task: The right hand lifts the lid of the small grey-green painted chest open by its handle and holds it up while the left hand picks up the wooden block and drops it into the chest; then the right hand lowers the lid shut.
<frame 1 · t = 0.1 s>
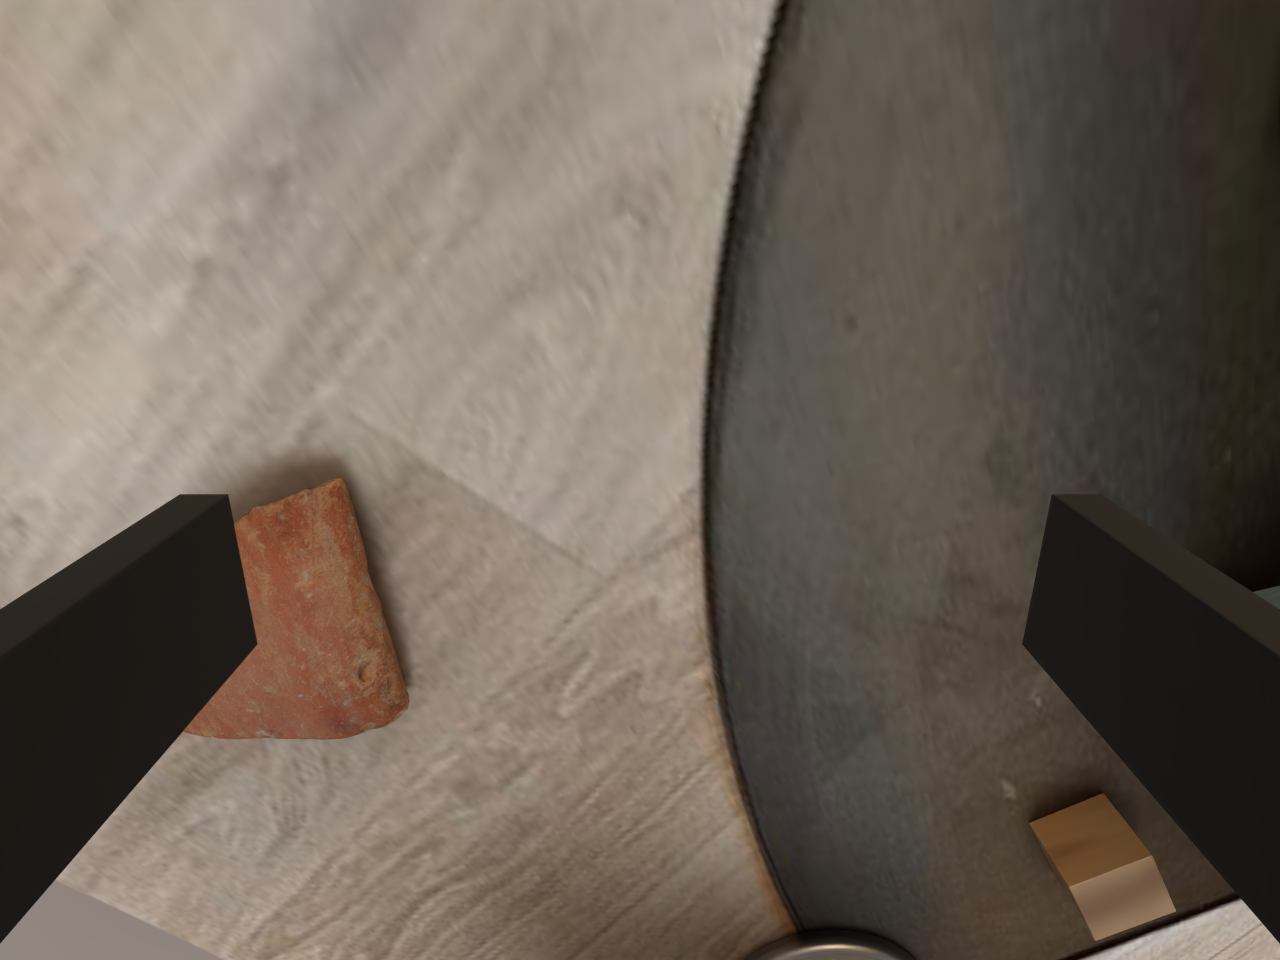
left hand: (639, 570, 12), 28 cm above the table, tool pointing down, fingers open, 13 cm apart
ceramic shard: (265, 602, 44), on the table
block: (1077, 834, 50), on the table
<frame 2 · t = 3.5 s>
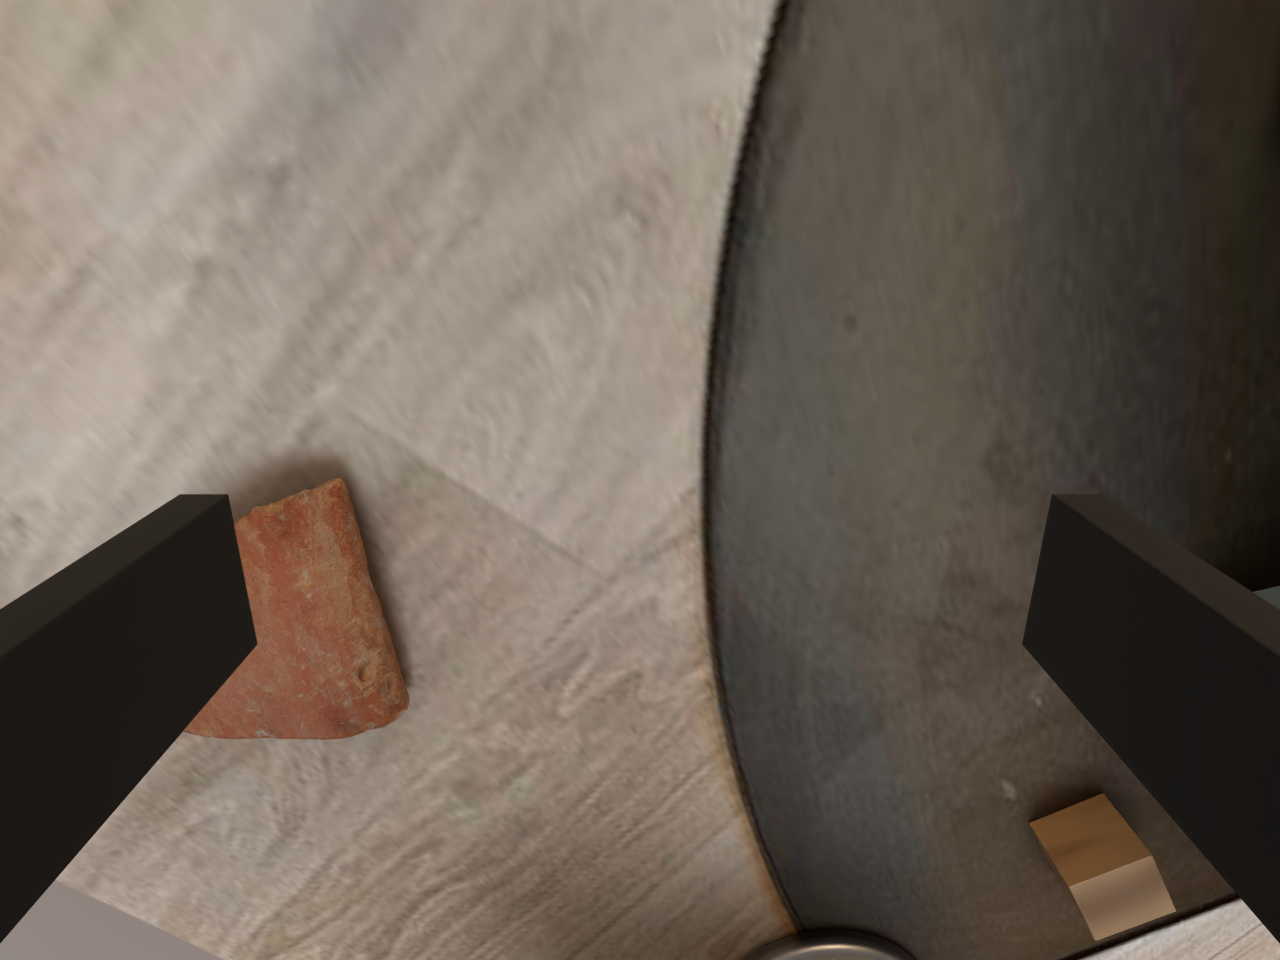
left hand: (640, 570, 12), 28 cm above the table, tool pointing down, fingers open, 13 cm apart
ceramic shard: (265, 602, 44), on the table
block: (1077, 834, 50), on the table
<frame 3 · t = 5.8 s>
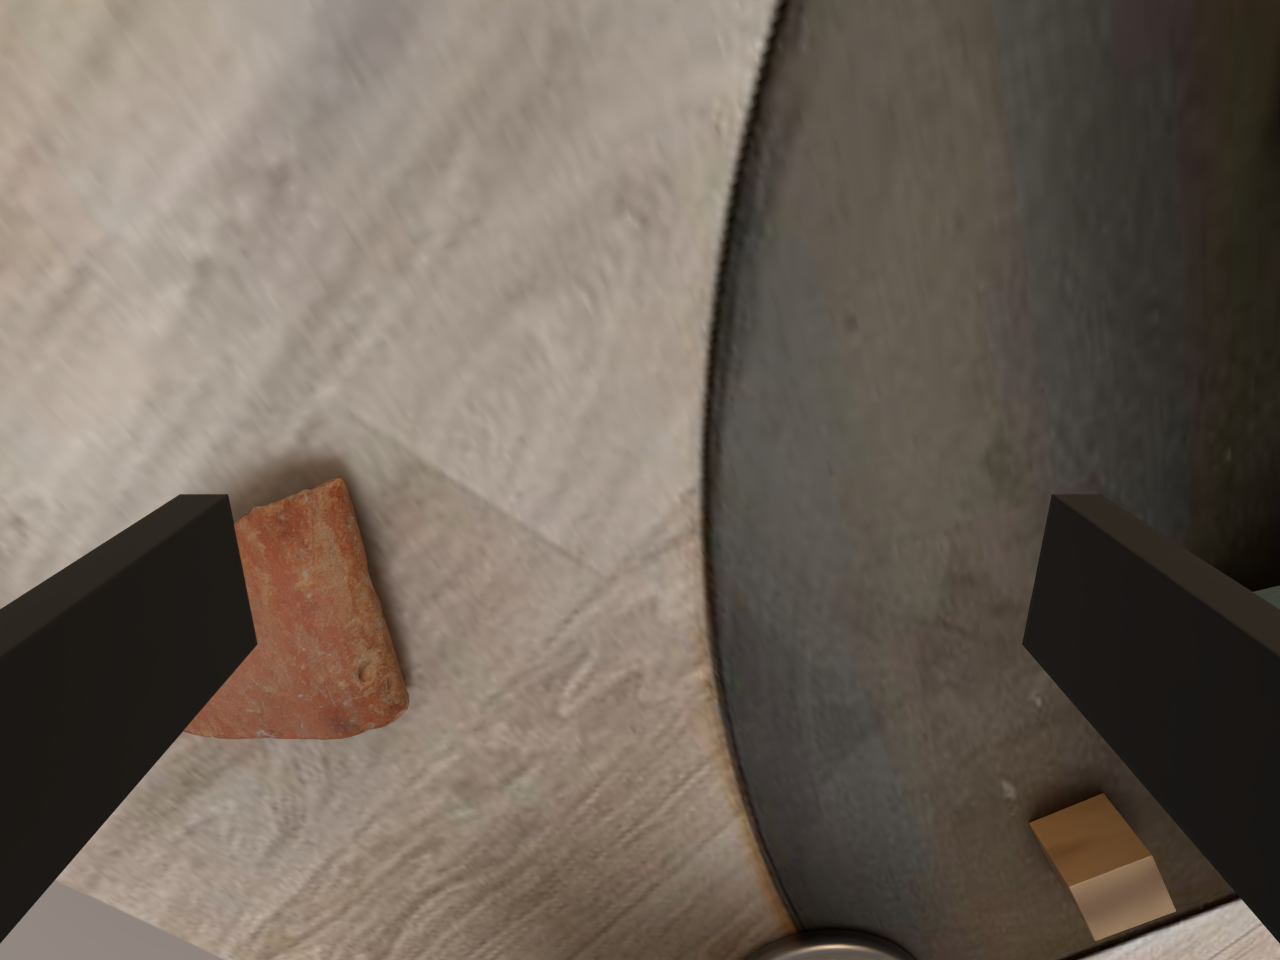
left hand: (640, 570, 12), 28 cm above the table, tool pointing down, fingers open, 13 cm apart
ceramic shard: (265, 602, 44), on the table
block: (1077, 834, 50), on the table
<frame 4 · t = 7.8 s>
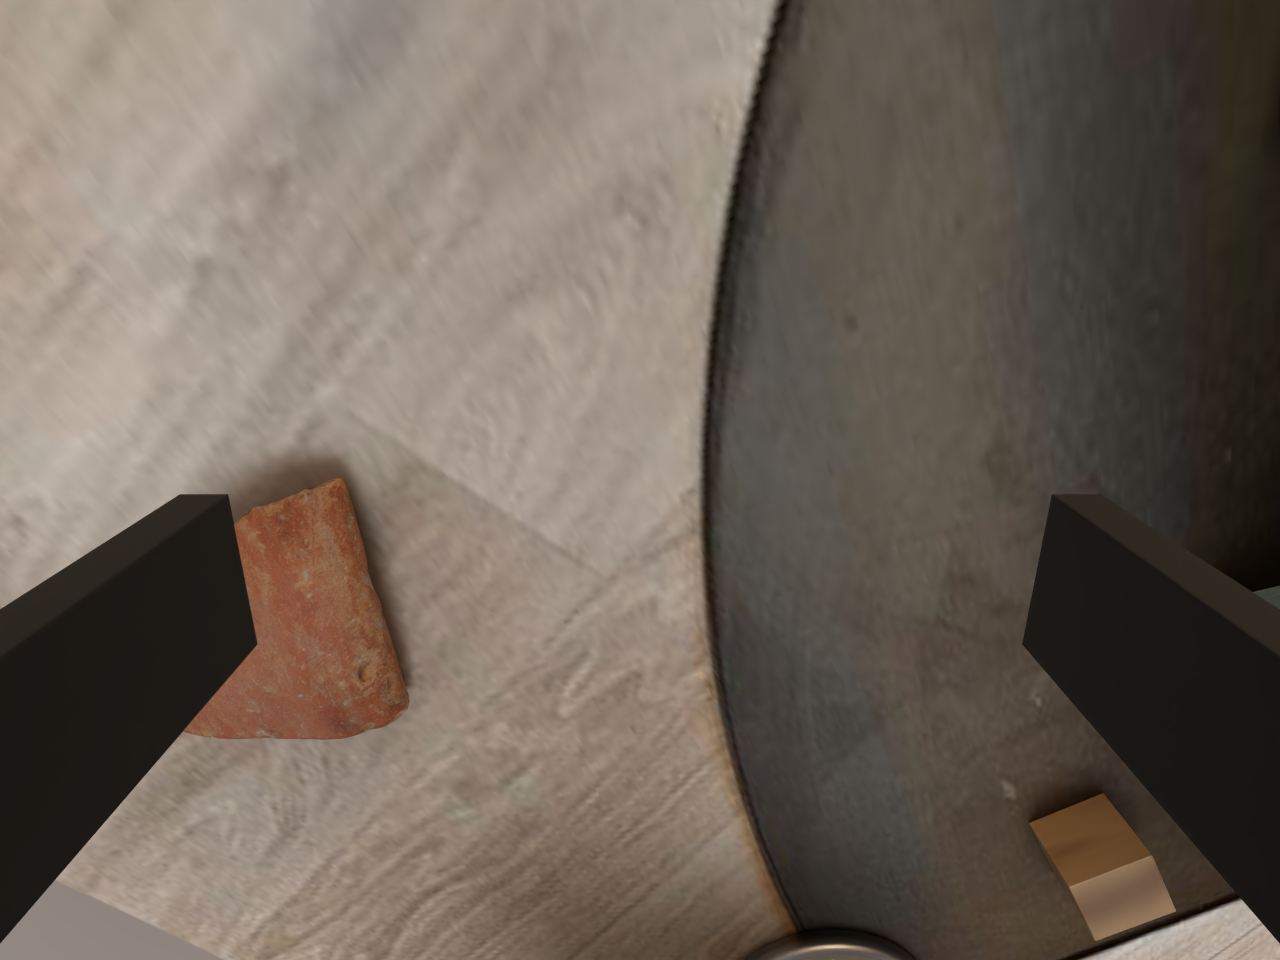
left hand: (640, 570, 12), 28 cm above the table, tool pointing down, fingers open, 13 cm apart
ceramic shard: (265, 602, 44), on the table
block: (1077, 834, 50), on the table
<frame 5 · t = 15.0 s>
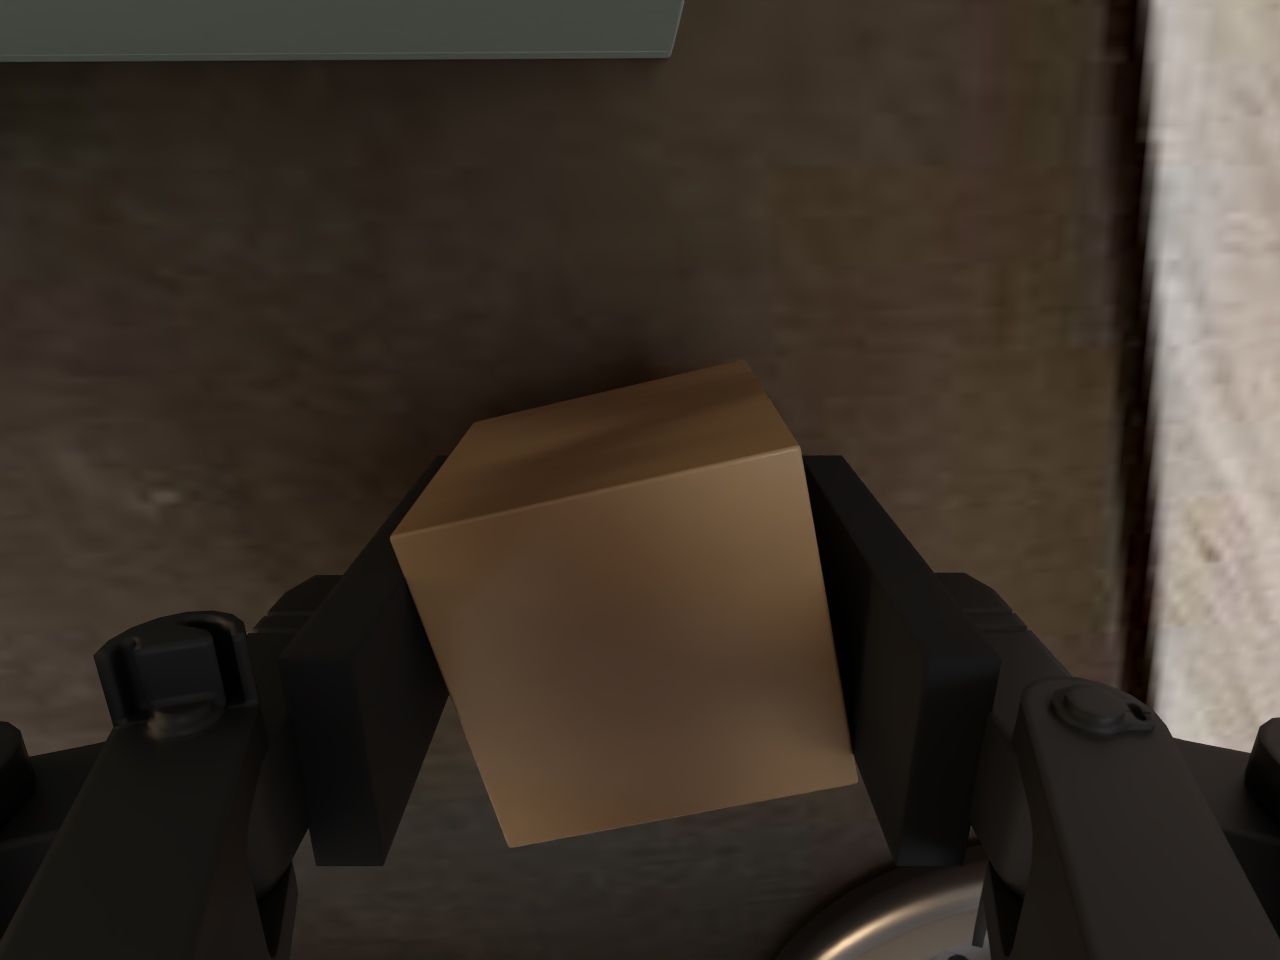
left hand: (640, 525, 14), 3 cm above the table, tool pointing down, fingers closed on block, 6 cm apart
block: (639, 516, 14), point 3 cm above the table, touching left hand
when the left hand's fingers open (17 cm above the table, at t = 17.9 s): block drops 15 cm, resting on chest.
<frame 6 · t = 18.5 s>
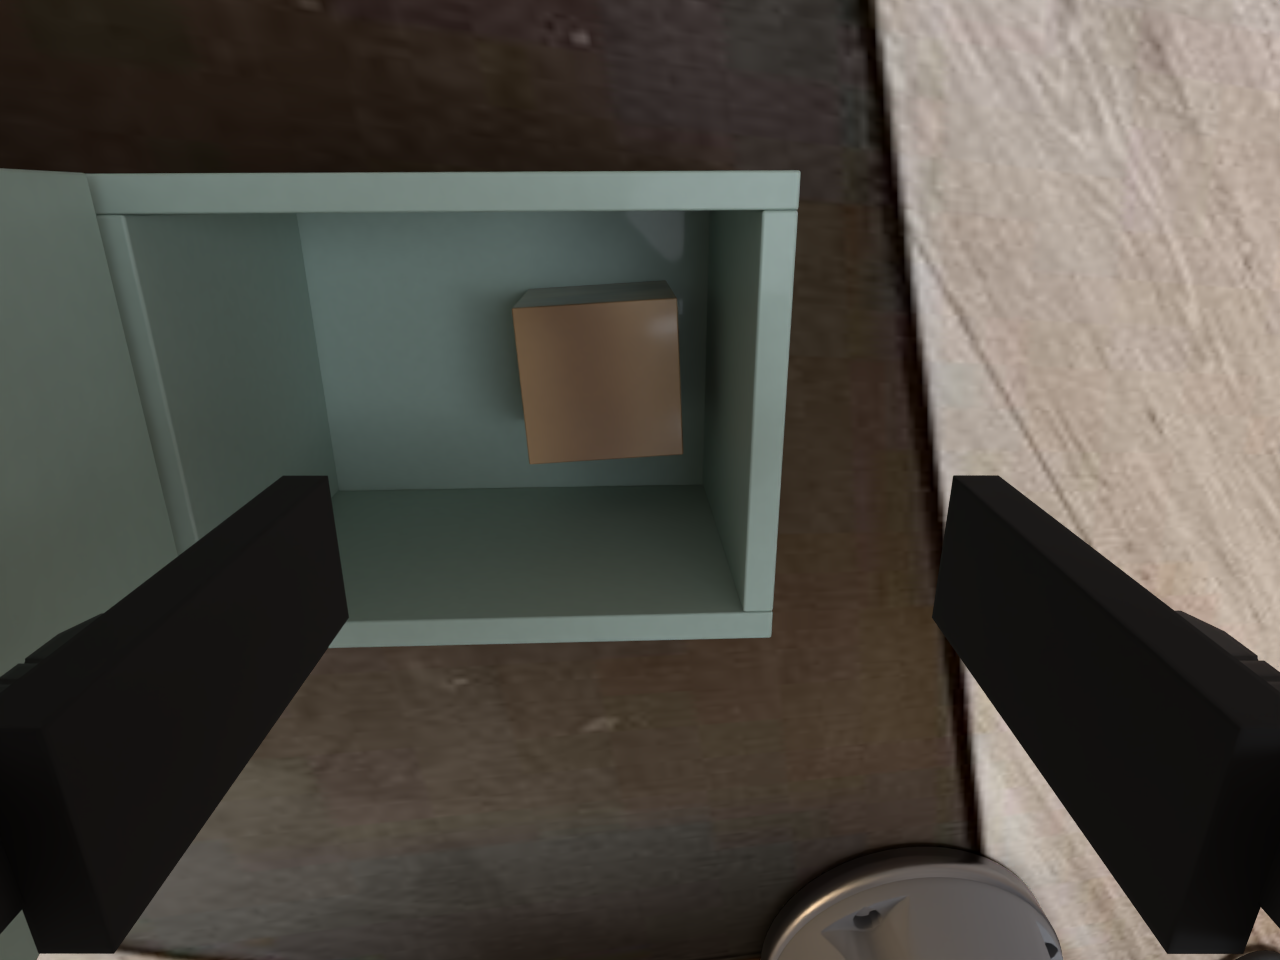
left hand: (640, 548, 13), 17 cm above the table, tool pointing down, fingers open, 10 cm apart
chest: (516, 351, 29), on the table, touching block
block: (602, 353, 29), point 1 cm above the table, touching chest
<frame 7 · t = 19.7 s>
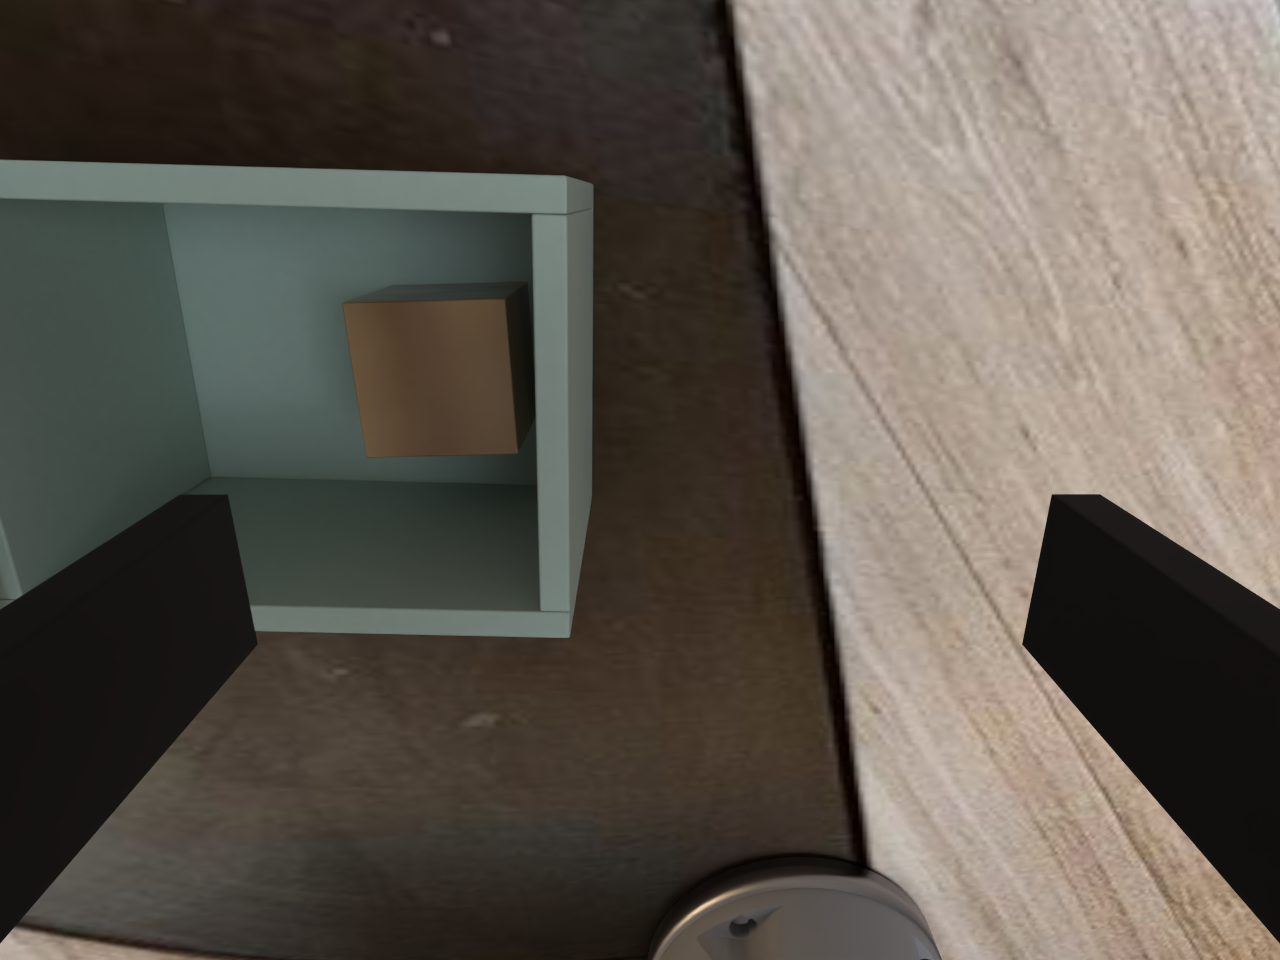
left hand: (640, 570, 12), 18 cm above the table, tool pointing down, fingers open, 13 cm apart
chest: (386, 346, 30), on the table, touching block
block: (466, 351, 29), point 1 cm above the table, touching chest
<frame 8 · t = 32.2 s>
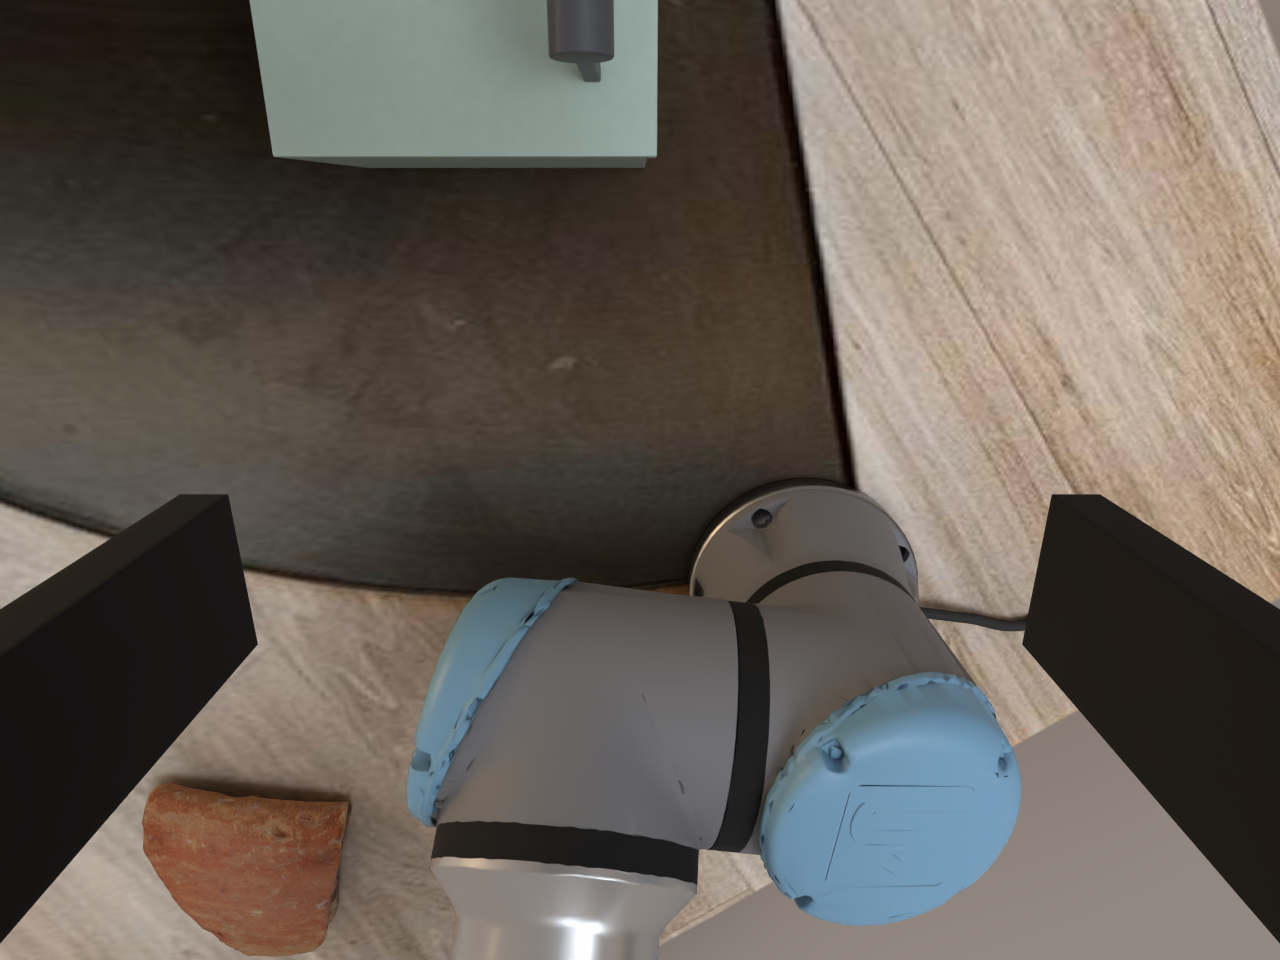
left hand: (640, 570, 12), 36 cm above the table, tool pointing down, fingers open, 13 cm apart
chest: (499, 48, 42), on the table, touching block
ceramic shard: (263, 853, 62), on the table
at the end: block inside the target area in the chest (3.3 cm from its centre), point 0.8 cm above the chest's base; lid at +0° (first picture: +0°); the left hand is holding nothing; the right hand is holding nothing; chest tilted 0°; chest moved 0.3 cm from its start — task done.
